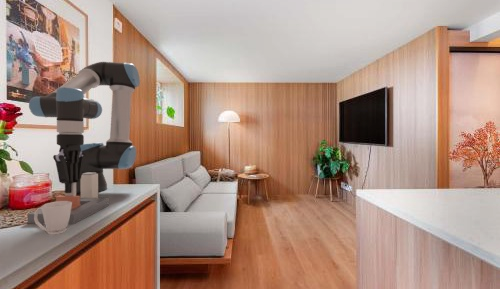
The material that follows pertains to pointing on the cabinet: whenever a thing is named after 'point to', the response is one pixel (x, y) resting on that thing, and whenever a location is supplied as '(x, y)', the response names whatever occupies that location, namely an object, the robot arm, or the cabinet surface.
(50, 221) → the cup
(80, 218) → the socket
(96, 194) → the plug
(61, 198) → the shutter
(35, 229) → the cabinet surface
